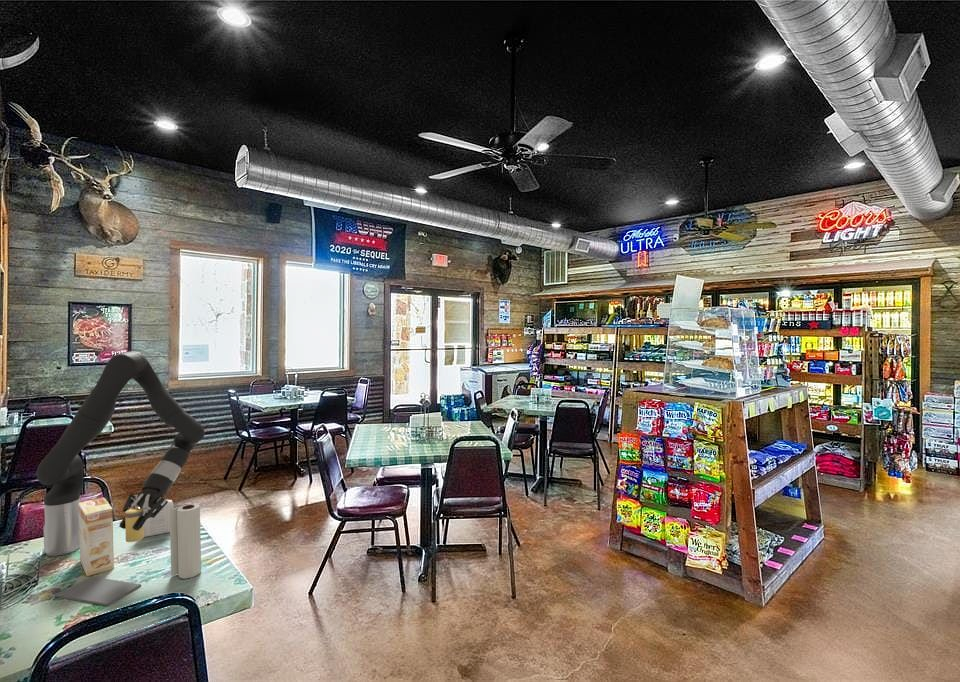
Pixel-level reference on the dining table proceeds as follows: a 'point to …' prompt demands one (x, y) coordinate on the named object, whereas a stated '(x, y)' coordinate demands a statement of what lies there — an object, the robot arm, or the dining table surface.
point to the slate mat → (98, 590)
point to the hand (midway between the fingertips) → (128, 528)
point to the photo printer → (159, 521)
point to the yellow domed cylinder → (130, 520)
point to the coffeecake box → (96, 536)
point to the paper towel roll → (185, 540)
